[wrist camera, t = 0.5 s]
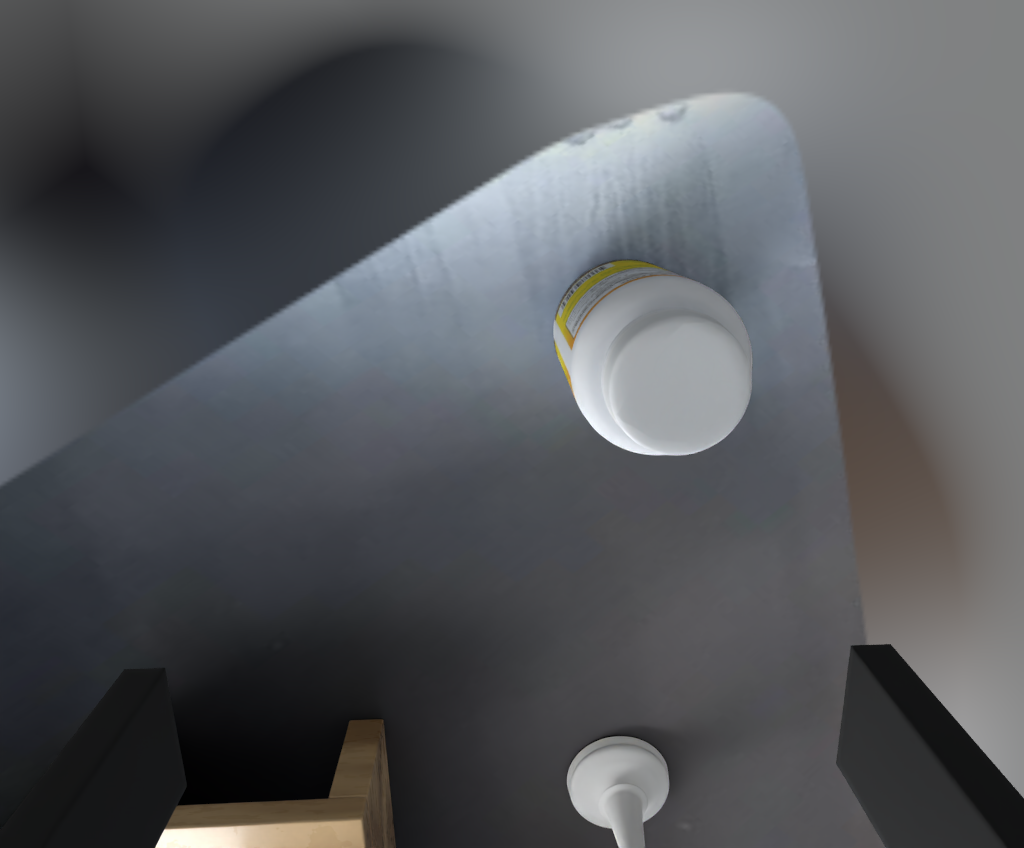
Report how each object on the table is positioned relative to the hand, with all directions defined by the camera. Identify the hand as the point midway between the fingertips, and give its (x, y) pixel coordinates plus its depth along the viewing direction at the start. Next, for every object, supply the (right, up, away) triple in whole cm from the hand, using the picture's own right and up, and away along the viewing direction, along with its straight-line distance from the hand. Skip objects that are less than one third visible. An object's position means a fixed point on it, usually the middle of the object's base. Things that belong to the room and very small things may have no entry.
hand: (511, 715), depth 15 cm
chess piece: (+5, -11, +22) cm, 26 cm away
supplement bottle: (+4, +10, +16) cm, 19 cm away
